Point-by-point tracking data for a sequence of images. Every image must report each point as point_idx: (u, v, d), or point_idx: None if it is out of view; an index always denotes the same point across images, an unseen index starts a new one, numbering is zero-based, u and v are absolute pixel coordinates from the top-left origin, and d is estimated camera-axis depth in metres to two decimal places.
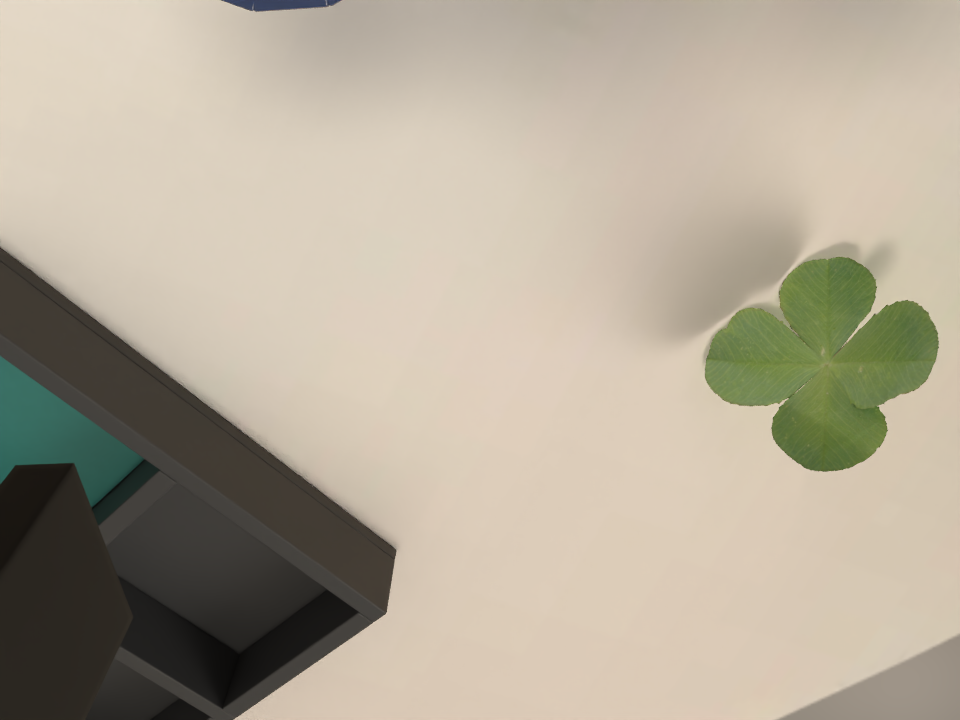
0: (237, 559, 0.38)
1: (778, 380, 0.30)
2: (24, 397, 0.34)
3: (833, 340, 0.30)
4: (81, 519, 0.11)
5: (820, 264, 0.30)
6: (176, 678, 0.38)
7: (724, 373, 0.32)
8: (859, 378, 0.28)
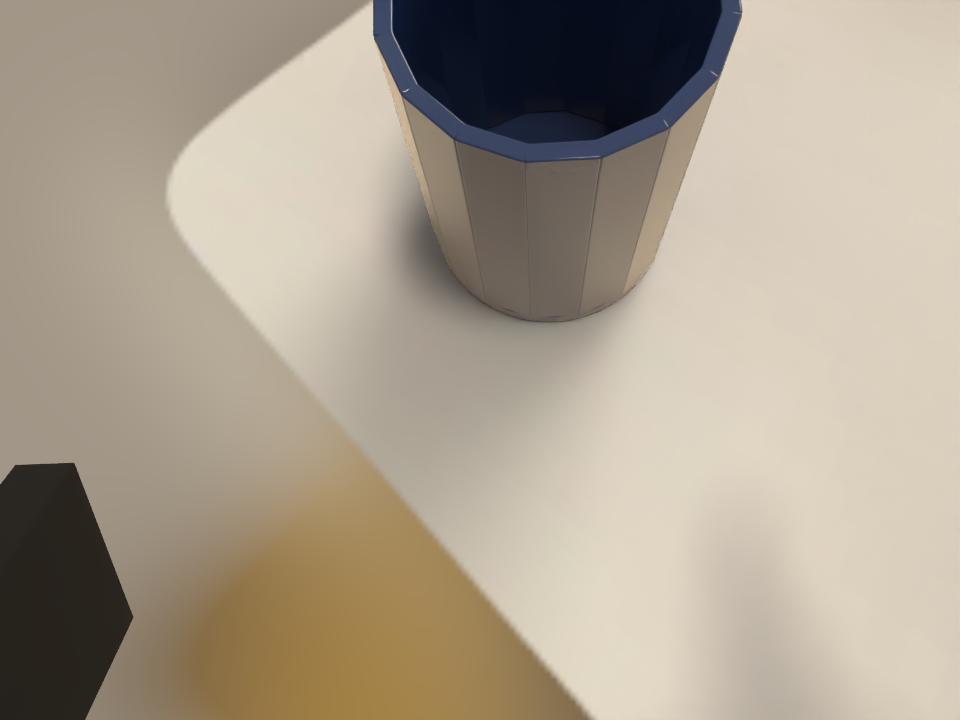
0: None
1: None
2: None
3: None
4: (81, 519, 0.11)
5: None
6: None
7: None
8: None
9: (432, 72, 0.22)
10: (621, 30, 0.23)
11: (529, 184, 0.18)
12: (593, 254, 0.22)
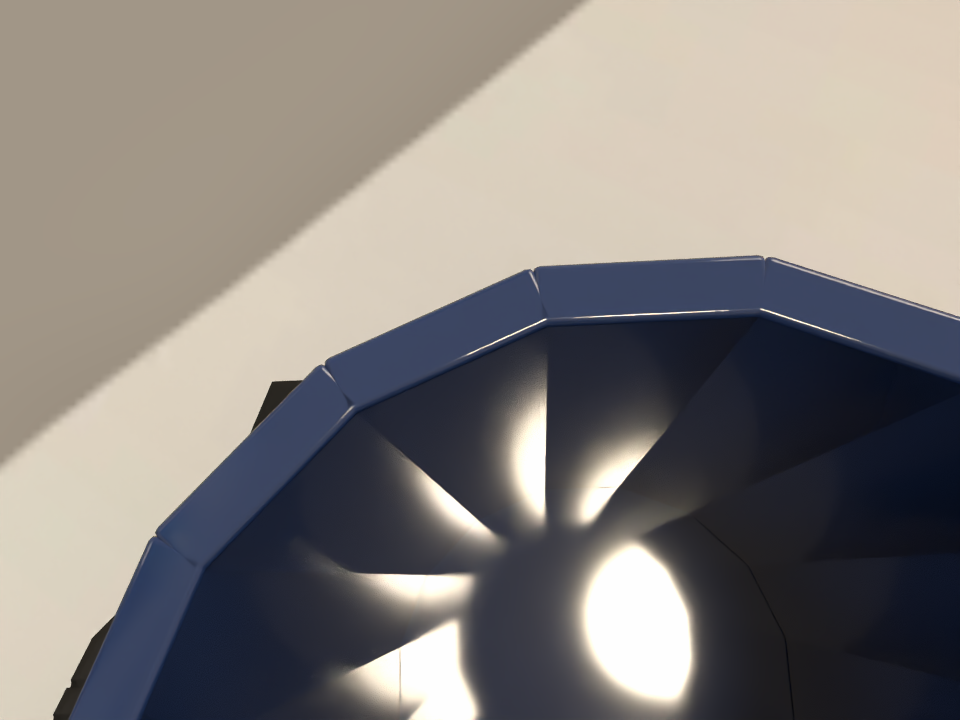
0: None
1: None
2: None
3: None
4: None
5: None
6: None
7: None
8: None
9: (339, 626, 0.10)
10: (773, 494, 0.10)
11: None
12: None
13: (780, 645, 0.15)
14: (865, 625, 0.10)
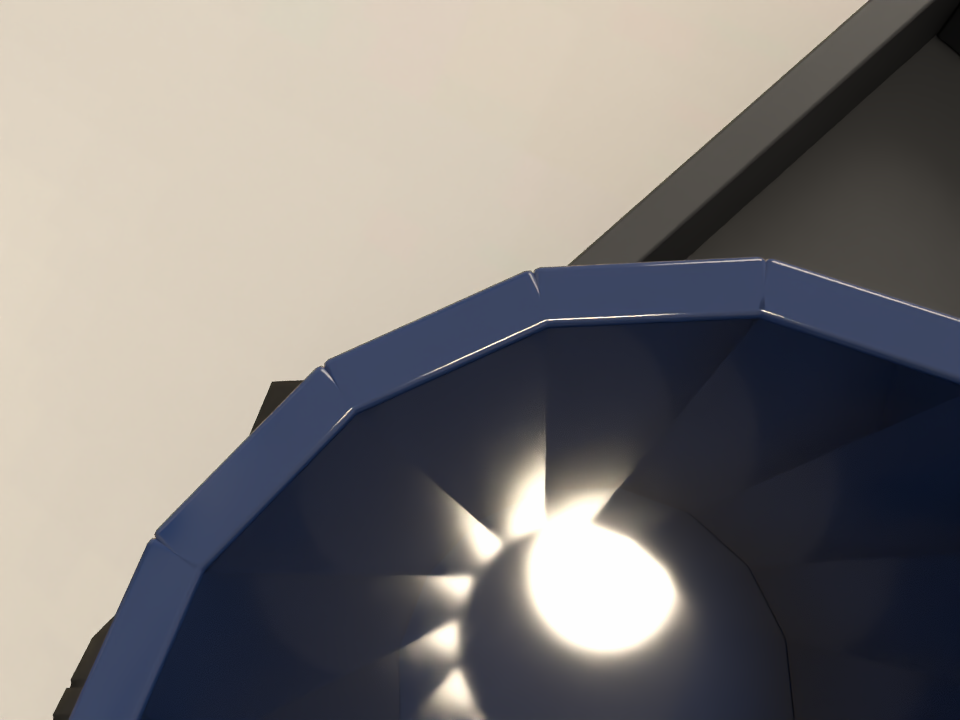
0: None
1: None
2: None
3: None
4: None
5: None
6: None
7: None
8: None
9: (339, 627, 0.10)
10: (773, 495, 0.10)
11: None
12: None
13: (780, 645, 0.15)
14: (865, 626, 0.10)
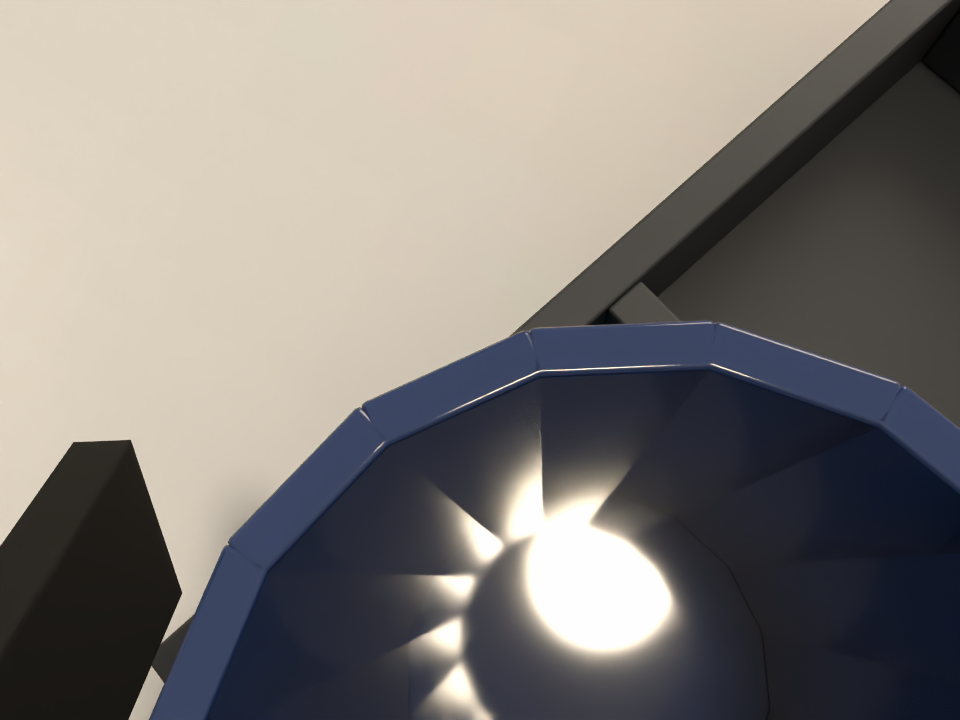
0: (952, 309, 0.18)
1: None
2: None
3: None
4: (137, 495, 0.11)
5: None
6: None
7: None
8: None
9: (361, 620, 0.11)
10: (742, 504, 0.12)
11: None
12: None
13: (756, 639, 0.16)
14: (824, 620, 0.12)
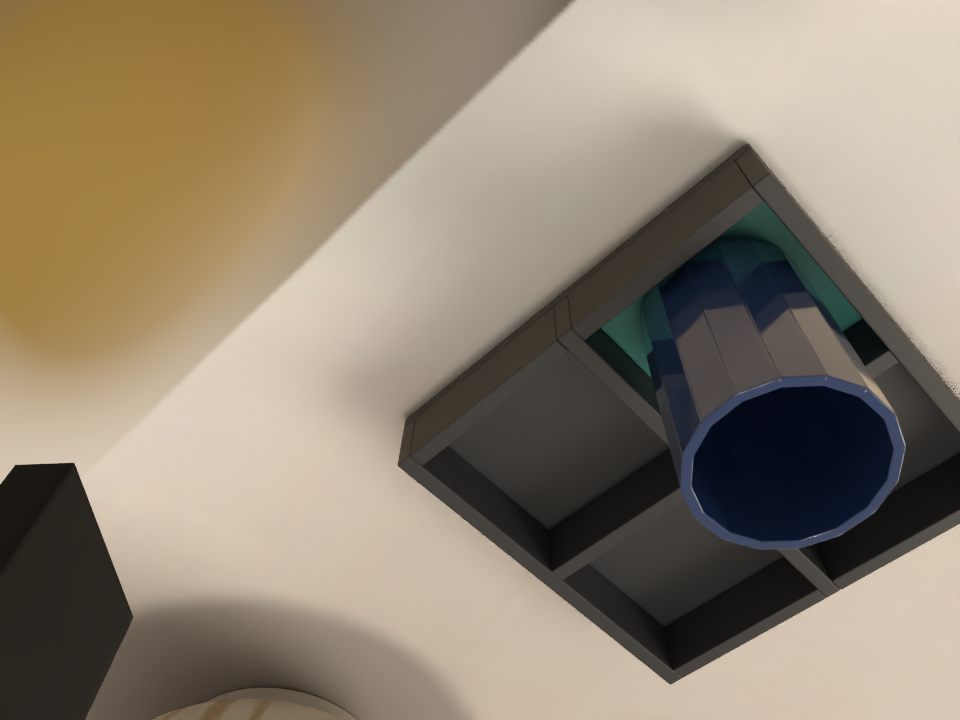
0: None
1: None
2: None
3: None
4: (81, 519, 0.11)
5: None
6: (802, 551, 0.42)
7: None
8: None
9: None
10: (815, 421, 0.35)
11: (677, 438, 0.30)
12: (659, 404, 0.35)
13: None
14: (769, 434, 0.36)
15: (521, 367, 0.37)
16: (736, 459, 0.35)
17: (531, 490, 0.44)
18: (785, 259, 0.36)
